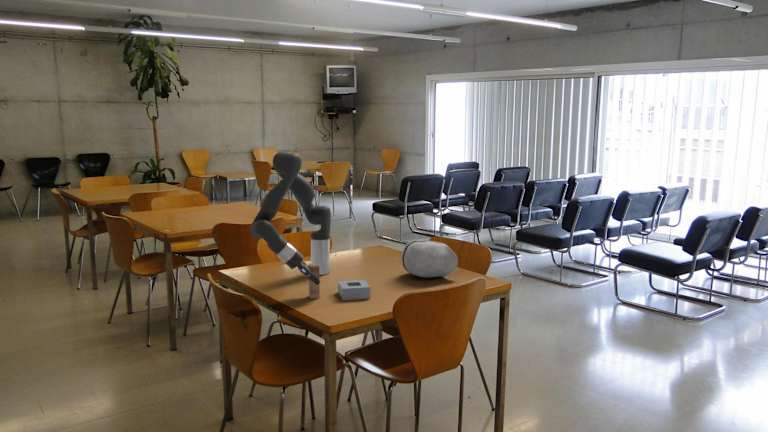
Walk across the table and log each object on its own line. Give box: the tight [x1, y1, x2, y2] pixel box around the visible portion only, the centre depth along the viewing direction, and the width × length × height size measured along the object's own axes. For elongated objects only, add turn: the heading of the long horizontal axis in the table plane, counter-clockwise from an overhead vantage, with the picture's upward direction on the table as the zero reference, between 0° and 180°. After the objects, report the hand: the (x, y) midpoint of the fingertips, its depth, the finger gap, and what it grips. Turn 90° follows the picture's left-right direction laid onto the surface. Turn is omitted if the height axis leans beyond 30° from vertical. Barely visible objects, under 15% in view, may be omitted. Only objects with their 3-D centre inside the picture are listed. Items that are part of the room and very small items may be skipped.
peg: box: [308, 263, 321, 299], centre depth 258 cm, size 4×4×14 cm
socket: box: [337, 279, 371, 301], centre depth 262 cm, size 12×12×5 cm
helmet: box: [401, 239, 459, 279], centre depth 295 cm, size 18×25×30 cm
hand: (317, 281), depth 259 cm, fingers open, 7 cm apart
